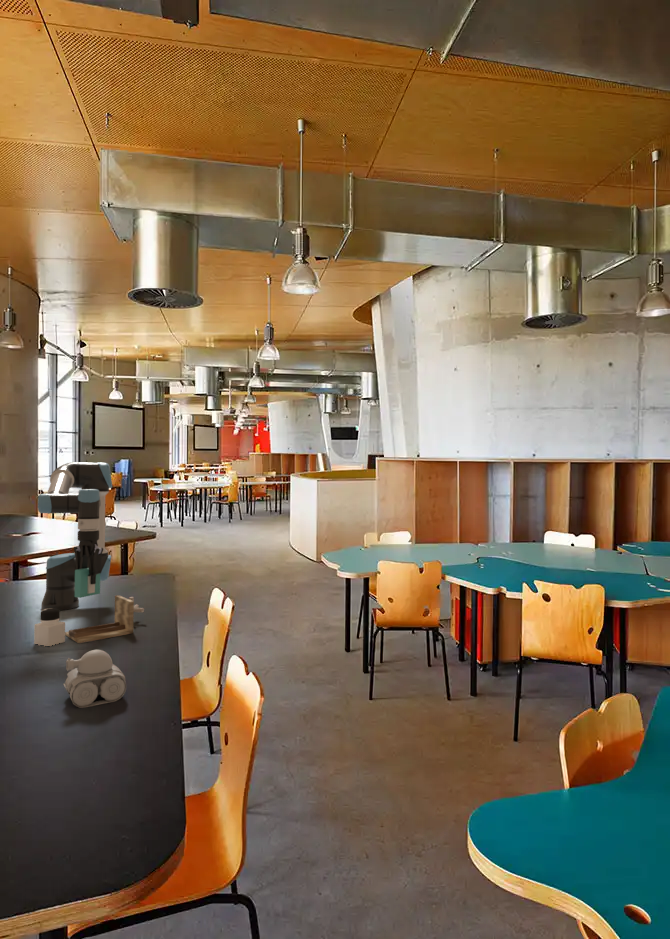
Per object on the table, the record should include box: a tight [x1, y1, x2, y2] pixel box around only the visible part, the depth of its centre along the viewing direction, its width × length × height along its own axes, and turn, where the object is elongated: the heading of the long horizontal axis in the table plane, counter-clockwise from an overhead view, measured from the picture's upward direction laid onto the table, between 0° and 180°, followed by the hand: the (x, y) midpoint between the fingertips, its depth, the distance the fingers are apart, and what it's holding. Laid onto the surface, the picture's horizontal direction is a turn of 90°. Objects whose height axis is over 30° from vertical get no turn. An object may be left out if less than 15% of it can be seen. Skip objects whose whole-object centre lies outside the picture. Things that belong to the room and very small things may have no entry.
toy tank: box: [63, 649, 127, 709], centre depth 156 cm, size 15×11×13 cm
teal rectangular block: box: [75, 568, 101, 599], centre depth 219 cm, size 3×9×10 cm, turn 153°
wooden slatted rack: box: [65, 594, 135, 644], centre depth 217 cm, size 14×20×12 cm
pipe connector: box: [128, 596, 145, 613], centre depth 234 cm, size 10×10×10 cm
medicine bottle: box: [33, 608, 66, 647], centre depth 205 cm, size 7×7×12 cm
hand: (87, 592), depth 218 cm, fingers closed on teal rectangular block, 3 cm apart
